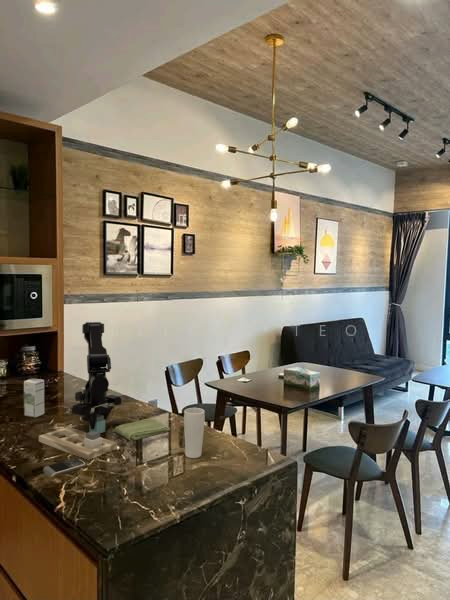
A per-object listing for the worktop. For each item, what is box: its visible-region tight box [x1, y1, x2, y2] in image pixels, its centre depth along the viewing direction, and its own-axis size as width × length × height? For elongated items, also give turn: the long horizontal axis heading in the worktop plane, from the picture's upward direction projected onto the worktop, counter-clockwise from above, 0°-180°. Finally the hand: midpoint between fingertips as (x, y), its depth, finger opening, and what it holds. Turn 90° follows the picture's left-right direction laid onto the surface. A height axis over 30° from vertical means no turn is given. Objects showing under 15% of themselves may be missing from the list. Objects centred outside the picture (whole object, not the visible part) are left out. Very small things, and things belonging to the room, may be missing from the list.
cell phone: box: [42, 457, 86, 478], centre depth 136 cm, size 6×11×1 cm, turn 134°
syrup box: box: [23, 378, 45, 418], centre depth 184 cm, size 6×6×14 cm
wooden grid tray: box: [38, 426, 118, 461], centre depth 154 cm, size 12×26×2 cm, turn 56°
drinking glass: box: [183, 407, 206, 459], centre depth 147 cm, size 7×7×15 cm
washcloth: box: [114, 418, 171, 442], centre depth 168 cm, size 13×18×3 cm
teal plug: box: [88, 414, 106, 434], centre depth 166 cm, size 4×4×6 cm
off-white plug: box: [84, 431, 103, 450], centre depth 149 cm, size 4×4×6 cm
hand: (97, 427), depth 166 cm, fingers closed on teal plug, 4 cm apart
